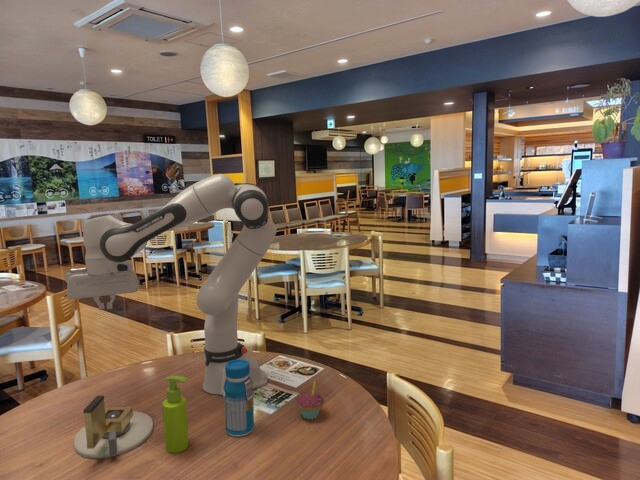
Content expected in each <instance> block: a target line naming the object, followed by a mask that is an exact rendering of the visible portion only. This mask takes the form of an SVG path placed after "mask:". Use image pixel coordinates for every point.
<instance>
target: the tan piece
mask: <svg viewBox="0 0 640 480" xmlns="http://www.w3.org/2000/svg"><path fill="white" fill-rule="evenodd" d="M133 410H134V408H133V406H113V407H112V406H111V407H109V406H107V407H105V395H96V396H95V397H94V398H93V400H92V401H90V403H89V404H88V405H87V406H86V407H85V408H84V409H83V415H84V425H85V426H84V427H85V428H86V438H87V449H94V447H95V446H96V445H97V444H98V442H99V441H100V440H101V438H102V437H103V436H104V435H105V433H106V432H110V431H115V430H116V432H122V431H123V430H124V428H125V427H126V425H127V424H128V423H129V421H130V420H131V419H132V417H133ZM112 411H120V414H121V415H120V417H119V418H118V419H106V415H107V414H108V413H109V412H112Z"/></svg>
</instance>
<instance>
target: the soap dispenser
mask: <svg viewBox="0 0 640 480" xmlns="http://www.w3.org/2000/svg"><path fill="white" fill-rule="evenodd" d="M187 380H189V378H188V377H185V376H182V375H169V376H168V377H166V378H165V381H166V382H169V387H168V388H167V389H166V396H167V398H166V399H164V400H163V401H162V412H163V413H162V414H163V426H164V428H163V429H164V441H165V442H164V443H165V445H164V446H165V450H166V452H167V453H169V454H178V453H181V452H184V451H185V450H186V449H188V447H189V429H188V427H189V426H188V416H187V415H188V411H187V399H186V397H184V396H182V395H181V387H180V386H178V385H177V384H178V383H177V382H179V383H185V382H186V381H187Z"/></svg>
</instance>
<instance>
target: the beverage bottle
mask: <svg viewBox="0 0 640 480" xmlns="http://www.w3.org/2000/svg"><path fill="white" fill-rule="evenodd" d="M225 372H226V377H227V379H226V381H225V384H224V391H225V393H224V396H223V404H224V417H225V418H224V419H225V432H226V433H227V434H228V436H231V437H236V438H237V437H243V436H247V435H249V434H250V433H252V432H253V431H254V428H255V413H254V412H255V411H254V407H255V406H254V389H252V388H253V383H252V380H251V379H250V377H249V373H250V365H249V362H248V361H247V360H243V359H236V360H232V361H229V362H228V363H227V364H226V366H225Z"/></svg>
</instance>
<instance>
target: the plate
mask: <svg viewBox="0 0 640 480" xmlns="http://www.w3.org/2000/svg"><path fill="white" fill-rule="evenodd" d="M153 430H154V423H153V419H152V418H151V416H149V415H148V414H146V413H144V412H141V411H133V417H132V419H131V420H130V429H129V431H128V432H127V433H126V434H124V435H122V436H120V437H117V438H116V430H115V431H110V432H109V439H103V438H101V440H100V441H99V442H98V444H97V445H96V446H95V447H94V449H87V438H86V428H85V426H83V427H81V429H80V430H79V431H78V432H77V434H76V435H75V437H74V440H73V444H74V450H75V452H76V453H77V454H78V455H79V456H80V457H84V458H87V459H106V458H107V459H108V458H112V457H116V456H120V455H122V454H125V453H128V452H130V451H133V450H134V449H136V448H137V447H139V446H140V445H142V444H143V443H145V442H146V441H147V440H148V439H149V437H151V435H152V433H153Z"/></svg>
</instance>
